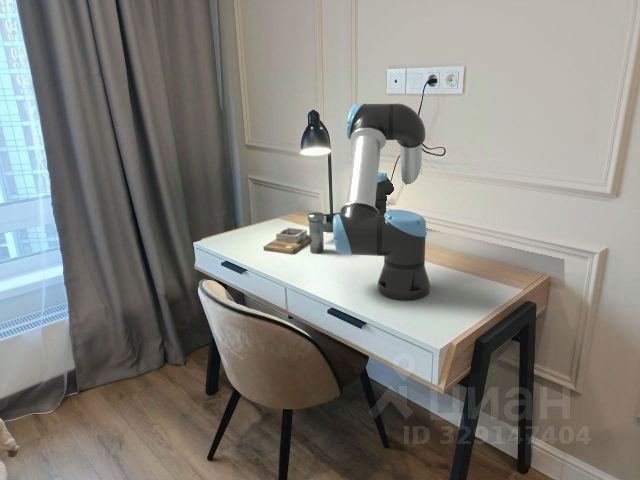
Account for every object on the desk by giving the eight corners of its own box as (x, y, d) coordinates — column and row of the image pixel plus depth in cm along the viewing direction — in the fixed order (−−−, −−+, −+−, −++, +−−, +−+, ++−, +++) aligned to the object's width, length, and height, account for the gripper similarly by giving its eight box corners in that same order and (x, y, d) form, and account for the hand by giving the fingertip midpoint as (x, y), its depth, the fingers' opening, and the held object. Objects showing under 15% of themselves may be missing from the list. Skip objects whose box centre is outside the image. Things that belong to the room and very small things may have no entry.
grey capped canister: (320, 255, 171) (319, 217, 167) (306, 252, 174) (304, 215, 169) (327, 249, 176) (326, 213, 172) (313, 247, 179) (312, 211, 174)
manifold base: (292, 254, 173) (291, 242, 171) (263, 250, 178) (262, 238, 176) (314, 239, 188) (313, 228, 187) (287, 235, 193) (286, 225, 192)
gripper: (388, 230, 183) (351, 244, 169) (341, 218, 200) (303, 230, 186) (389, 211, 181) (351, 223, 167) (340, 200, 198) (302, 211, 184)
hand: (326, 227), depth 176 cm, fingers open, 13 cm apart
